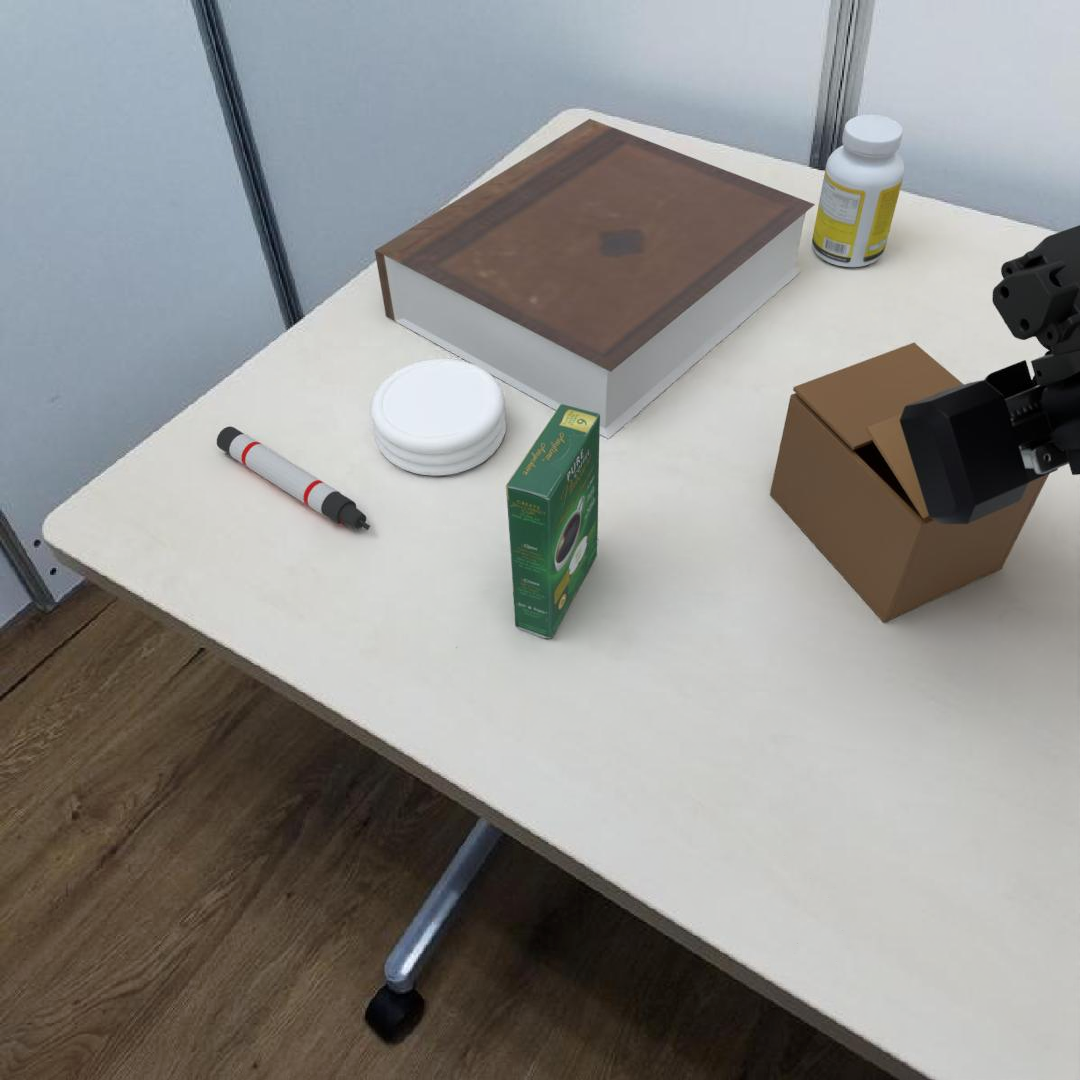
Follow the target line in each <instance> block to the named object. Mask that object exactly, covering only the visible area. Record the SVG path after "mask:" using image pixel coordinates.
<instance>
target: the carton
mask: <svg viewBox="0 0 1080 1080" xmlns="http://www.w3.org/2000/svg"><path fill="white" fill-rule="evenodd" d="M964 384H965V383H963V382H962V381H961V380H959V379H958V377H956V376H954V374H952V373H951V372H950V371H949V370H947V369H946V368H945V367H944V366H943V365H942V364H940V363H939V362H938V361H937V360H936V359H935V358H934V357H932V356H931V355H930V354H928V352H927V351H925V350H924V349H923V348H921V347H920V346H919V345H918V344H917V343H916V342H912V343H908V344H906V345H904V346H900V347H898V348H894V349H893V350H889V351H887V352H884V353H882V354H879V355H877V356H874V357H871V358H868V359H866V360H863V361H860V362H857V363H855V364H852V365H849V366H846V367H844V368H841V369H839V370H836V371H832V372H829V373H827V374H825V375H822V376H820V377H819V376H818V377H816V378H814V379H811V380H809V381H808V380H807V381H806V382H803V383H801V384H798V385H795V386H793V388H792V391H793V392H794V393H792V394H790V397H789V400H788V401H789V402H788V406H787V410H786V415H785V420H784V425H783V430H782V433H781V434H782V435H781V439H780V444H779V447H778V454H777V459H776V463H775V467H774V472H773V478H772V482H771V487H770V491H769V496H770V497H771V498H772V499H773V500H774V501H775V502H776V503H777V504H778V505H779V507H780V508H781V509H782V510H783V511H784V512H785V513H786V514H787V516H789V518H790V519H791V520H792V521H793V522H794V523H795V525H796V526H797V527H798V528H799V529H800V530H801V531H802V532H803V534H804V535H805V536H806V537H807V538H808V539H809V540H810V541H811V543H812V544H813V545H814V546H815V547H816V548H817V549H818V550H819V551H820V553H821V554H822V555H823V556H824V557H825V558H826V560H828V562H829V563H830V564H831V566H833V567H834V568H835V569H836V571H837V572H838V573H839V574H840V575H841V576H842V578H843V579H844V580H845V581H846V582H847V583H848V585H850V586H851V588H852V589H853V590H854V591H855V592H856V593H857V594H858V596H860V597H861V599H862V600H863V601H864V602H865V604H867V605H868V606H869V608H870V609H871V610H872V612H874V613H875V615H876V616H877V617H878V618H879V619H880V620H881V621H882V622H883V623H886V622H889V621H891V620H893V619H895V618H897V617H899V616H901V615H904V614H906V613H908V612H910V611H912V610H914V609H917V608H919V607H922V606H923V605H925V604H928V603H930V602H932V601H934V600H936V599H938V598H941V597H943V596H945V595H948V594H950V593H951V592H954V591H956V590H957V589H960V588H962V587H964V586H967V585H969V584H971V583H973V582H976V581H978V580H981V579H982V578H984V577H986V576H990V575H991V574H993V573H996V572H997V571H1000V570H1002V569H1003V567H1004V565H1005V563H1006V561H1007V559H1008V557H1009V555H1010V553H1011V551H1012V549H1013V547H1014V545H1015V544H1016V541H1017V539H1018V537H1019V535H1020V533H1021V531H1022V530H1023V528H1024V525H1025V524H1026V522H1027V519H1028V517H1029V516H1030V514H1031V512H1032V510H1033V508H1034V506H1035V504H1036V502H1037V500H1038V498H1039V495H1040V494H1041V492H1042V490H1043V488H1044V485H1045V484H1046V481H1047V479H1048V478H1049V475H1050V474H1047V475H1045V476H1043V477H1040V478H1038V479H1036V480H1033V481H1031V482H1029V484H1028V487H1027V489H1026V491H1025V493H1024V495H1023V497H1022V499H1021V501H1019V502H1016V503H1014V504H1012V505H1010V506H1007V507H1005V508H1003V509H1001V510H998V511H996V512H994V513H991V514H989V515H987V516H985V517H982V518H980V519H978V520H975V521H973V522H971V523H969V524H940V523H938V522H936V521H935V520H933V519H931V518H929V516H928V517H926V518H922V516H921V515H920V513H919V512H918V510H917V509H916V507H915V506H914V504H913V502H912V501H911V499H910V498H909V496H908V495H907V493H906V492H905V490H904V488H903V487H902V485H901V484H900V482H899V481H898V479H897V478H896V476H895V474H894V473H893V471H892V470H891V468H890V467H889V465H888V464H887V462H886V460H885V459H884V457H883V456H882V454H881V453H880V451H879V450H878V448H877V446H876V445H875V443H874V442H873V440H872V439H871V437H870V436H869V434H868V432H867V431H866V429H867V427H869V426H872V425H874V424H877V423H880V422H882V421H885V420H887V419H890V418H892V417H895V416H897V415H900V414H902V413H903V410H904V408H905V406H906V405H909V404H912V403H914V402H917V401H919V400H922V399H924V398H927V397H929V396H932V395H935V394H937V393H940V392H942V391H945V390H948V389H951V388H954V387H958V386H961V385H964Z"/></svg>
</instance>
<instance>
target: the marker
mask: <svg viewBox="0 0 1080 1080" xmlns="http://www.w3.org/2000/svg"><path fill="white" fill-rule="evenodd" d="M216 446H217V447H218V448H219V449H220V450H221V451H223V452H225V453H226V454H227V455H229V456H230V457H232V459H234V460H236V461H238V462H239V463H241V464H242V465H244V466H245V467H246V468H248V469H250V470H251V471H253V472H255V473H256V474H258V475H259V476H261V477H263V479H265V480H267V481H269V482H270V483H272V484H274V485H275V486H277V487H278V488H280V490H283V491H284V492H286V493H288V494H289V495H291V496H292V497H294V498H295V499H297V500H299V501H300V502H301V503H303V504H305V505H306V506H307V507H310V508H311V509H313V510H314V511H316V512H318V513H319V514H321V515H322V516H324V517H326V518H328V519H330V520H331V521H332V522H334V523H336V524H337V525H339V526H345V525H346V526H348V527H351V528H353V529H354V530H361V529H362V528H363V529H364V530H366V531H369V530H370V528H371V525H370V524H369V523H366V522H367V515H366V514H365V513H363V512H362V511H361V510H359V508H357V504H356V503H355V501H354V500H352V499H350V498H349V497H347V496H345V495H344V494H342V493H341V492H340V491H339V490H337V489H335V487H332V486H331V485H329V484H327V483H326V482H324V481H323V480H321V479H319V478H317V477H316V476H314V475H313V474H311V473H310V472H308V471H306V470H304V469H303V468H301V467H300V466H299V465H296V464H295V463H293V462H291V461H290V460H288V459H287V458H286V457H284V456H283V455H280V454H279V453H277V452H275V451H274V450H272V449H271V448H269V447H268V446H266V445H264V444H263V443H261V442H260V441H258V440H256V439H255V438H253V437H251V436H249V434H245V432H242V431H241V430H239V429H237V428H236V427H234V426H226V427H224V428H223V429H221V431H220V432H219V433H218V435H217V437H216Z"/></svg>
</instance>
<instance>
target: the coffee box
mask: <svg viewBox="0 0 1080 1080" xmlns="http://www.w3.org/2000/svg"><path fill="white" fill-rule="evenodd" d="M599 433H600V414H598V413H594V412H590V411H586V410H582V409H579V408H575V407H571V406H567V405H563V404H561V405H560V406H559V407H558V409H557V410H555V411H554V413H553V414H552V416H551V418H550V419H549V420H548V422H547V424H546V425H545V427H544V428H543V429H542V431H541V433H540V434H539V436H538V437H537V438H536V440H535V441H534V442H533V444H532V446H531V448H530V449H529V450H528V452H527V453H526V455H525V456H524V458H523V459H522V461H521V462H520V464H519V465H518V467H517V468H516V469H515V471H514V473H513V475H512V476H511V477H510V479H509V480H508V482H507V483H506V485H505V491H506V493H505V494H506V505H507V518H508V533H509V534H508V535H509V548H510V565H511V578H512V597H513V612H514V626H515V628H517V629H519V630H520V631H524V632H526V633H530V634H531V635H533V636H537V637H539V638H543V639H552V638H553V636H554V634H555V632H556V631H557V628H558V627H559V625H560V624H561V622H562V621H563V619H564V617H565V615H566V612H567V611H568V609H569V607H570V604H571V603H572V601H573V599H574V597H575V596H576V594H577V592H578V590H579V589H580V587H581V585H582V584H583V581H584V579H586V577H587V574H588V572H589V571H590V569H591V567H592V565H593V564H594V561H595V559H596V558H597V556H598V552H597V551H598V540H599V539H598V534H599V533H598V532H599V530H598V529H599V481H600V480H599V479H600V478H599V476H600V474H599V473H600V434H599Z"/></svg>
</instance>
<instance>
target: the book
mask: <svg viewBox="0 0 1080 1080" xmlns="http://www.w3.org/2000/svg"><path fill="white" fill-rule="evenodd" d="M815 205H816V203H813V202H810V201H808V200H804V199H802V198H800V197H798V196H795V195H792V194H789V193H786V192H785V191H781V190H779V189H775V188H773V187H771V186H768V185H765V184H763V183H761V182H757V181H755V180H752V179H750V178H748V177H744V176H743V175H739V174H736V173H734V172H731V171H729V170H726V169H724V168H721V167H717V166H715V165H712V164H711V163H707V162H706V161H702V160H700V159H697V158H694V157H692V156H689V155H686V154H683V153H682V152H678V151H676V150H674V149H671V148H669V147H666V146H663V145H661V144H657V143H655V142H652V141H650V140H647V139H645V138H642V137H639V136H636V135H634V134H632V133H629V132H626V131H623V130H621V129H618V128H615V127H613V126H610V125H607V124H606V123H602V122H600V121H597V120H594V119H592V118H588V119H587V120H585V121H583V122H582V123H580V124H578V125H577V126H576V127H573V128H572V129H570V130H569V131H567V132H565V133H563V134H562V135H561V136H559V137H557V138H556V139H553V140H552V141H551V142H549V143H548V144H546V145H544V146H543V147H541V148H539V149H537V150H536V151H535V152H533V153H531V154H530V155H528V156H526V157H525V158H523V159H521V160H520V161H519V162H517V163H515V164H513V165H512V166H510V167H508V168H507V169H505V170H503V171H502V172H500V173H499V174H497V175H495V176H494V177H492V178H490V179H489V180H487V181H485V182H484V183H482V184H480V185H479V186H477V187H476V188H474V189H472V190H470V191H469V192H467V193H466V194H464V195H462V196H461V197H459V198H458V199H456V200H454V201H453V202H451V203H449V204H448V205H446V206H445V207H443V208H442V209H440V210H438V211H437V212H435V213H433V214H431V215H430V216H428V217H426V218H425V219H424V220H422V221H420V222H419V223H417V224H415V225H413V226H412V227H410V228H409V229H407V230H406V231H404V232H402V233H400V234H399V235H397V236H396V237H394V238H393V239H391V240H389V241H387V242H386V243H384V244H383V245H381V246H379V247H378V248H376V249H374V254H375V260H376V267H377V272H378V277H379V282H380V288H381V289H380V290H381V295H382V300H383V301H382V302H383V307H384V312H385V317H387V318H389V319H390V320H392V321H394V322H396V323H398V324H399V325H402V326H403V327H405V328H406V329H408V330H409V331H412V332H414V333H415V334H418V335H419V336H421V337H423V338H425V339H427V340H429V341H430V342H432V343H434V344H436V345H437V346H440V347H441V348H443V349H445V350H446V351H448V352H450V353H452V354H454V355H455V356H457V357H459V358H461V359H462V360H464V361H465V362H467V363H471V364H473V365H476V366H478V367H480V368H482V369H484V370H485V371H487V372H488V373H490V374H491V375H492V376H493V377H494V378H496V379H498V380H501V381H503V382H504V383H506V384H508V385H509V386H512V387H513V388H515V389H517V390H519V391H520V392H522V393H524V394H526V395H528V396H529V397H531V398H533V399H535V400H537V401H539V402H540V403H542V404H544V405H546V406H548V407H549V408H551V409H553V410H555V411H556V410H557V409H558V407H559V406H560V405H561V404H563V405H567V406H571V407H575V408H579V409H582V410H586V411H590V412H594V413H598V414H600V433H599V436H602V437H603V438H605V439H607V440H609V439H610V438H612V437H613V436H614V435H615V434H616V433H617V432H618V431H620V430H621V429H622V428H623V427H624V426H625V425H626V424H628V423H629V422H630V421H632V420H633V418H635V416H637V415H638V414H639V413H640V412H642V410H644V409H645V408H646V407H647V406H648V405H649V404H651V403H652V402H653V401H654V400H655V399H657V398H658V397H659V396H660V395H661V394H662V393H663V392H665V391H666V390H667V389H668V388H669V387H671V385H673V383H675V382H676V381H677V380H678V379H679V378H681V377H682V376H683V375H685V374H686V372H687V371H688V370H690V369H691V368H692V367H694V365H696V364H697V363H698V362H699V361H700V360H701V359H702V358H704V356H706V355H708V353H709V352H710V351H712V350H713V349H714V348H715V347H717V345H718V344H720V343H721V342H722V341H723V340H725V338H727V337H728V336H729V335H730V334H731V333H732V332H734V331H735V330H736V329H737V328H738V327H739V326H741V324H743V323H744V322H745V321H746V320H747V319H748V318H750V317H751V316H752V315H753V314H754V313H755V312H757V311H758V310H759V309H760V308H761V307H763V306H764V305H765V304H766V303H767V302H768V301H770V300H771V298H772V297H774V296H775V295H776V294H778V292H779V291H781V290H782V289H783V288H784V287H785V286H787V285H788V284H789V283H790V282H792V280H793V279H795V277H797V276H798V275H799V274H800V273H802V272H803V270H802V269H800V268H799V267H798V266H796V263H797V259H798V254H799V248H800V243H801V238H802V232H803V228H804V223H805V218H806V214H807V212H808V211H809V210H811V209H812V208H813V207H814V206H815Z"/></svg>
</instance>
